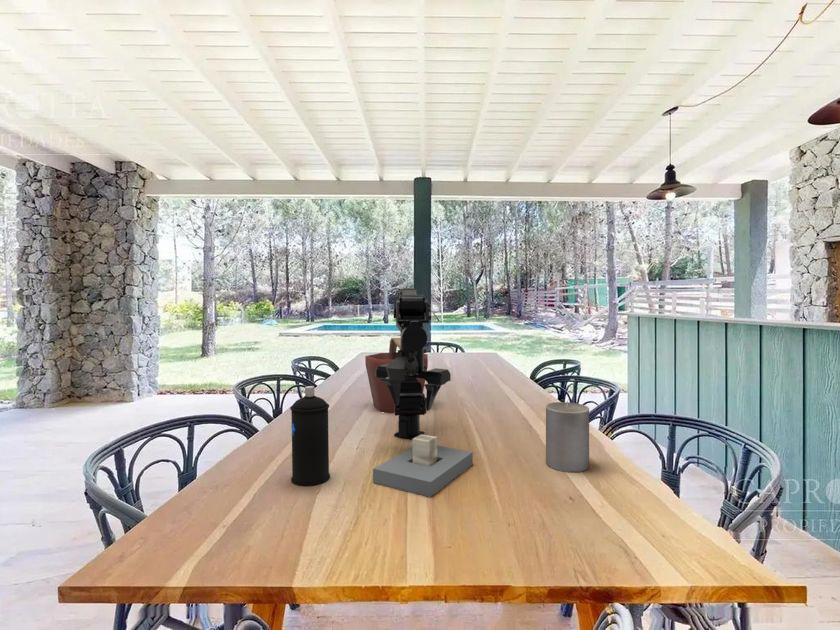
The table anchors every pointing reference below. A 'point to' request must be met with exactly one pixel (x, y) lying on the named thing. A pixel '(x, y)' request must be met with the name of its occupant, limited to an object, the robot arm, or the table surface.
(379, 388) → the bucket
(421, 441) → the cream peg
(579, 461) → the pillar candle
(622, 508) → the table surface
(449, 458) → the socket block
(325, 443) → the aerosol can
